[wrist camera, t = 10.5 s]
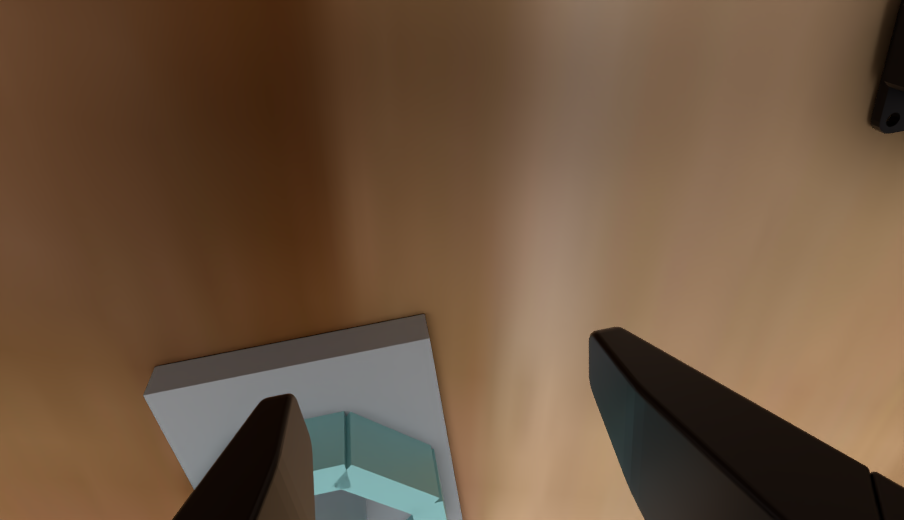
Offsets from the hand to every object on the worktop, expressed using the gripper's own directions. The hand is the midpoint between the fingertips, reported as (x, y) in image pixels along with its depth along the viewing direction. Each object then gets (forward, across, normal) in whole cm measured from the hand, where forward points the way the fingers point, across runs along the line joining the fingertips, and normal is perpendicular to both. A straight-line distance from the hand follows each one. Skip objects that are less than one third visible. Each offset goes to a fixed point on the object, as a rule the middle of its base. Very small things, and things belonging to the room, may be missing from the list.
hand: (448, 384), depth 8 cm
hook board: (+12, +5, +15) cm, 20 cm away
